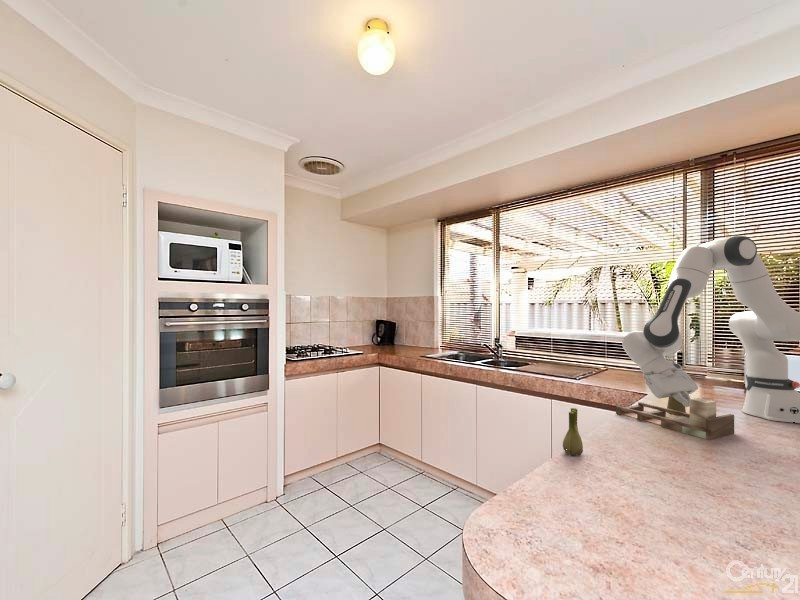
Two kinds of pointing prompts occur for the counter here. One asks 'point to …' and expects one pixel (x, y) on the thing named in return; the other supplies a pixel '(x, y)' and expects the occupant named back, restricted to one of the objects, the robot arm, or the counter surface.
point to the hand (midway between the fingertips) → (690, 405)
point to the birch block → (701, 411)
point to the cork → (675, 405)
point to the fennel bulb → (573, 436)
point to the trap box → (680, 421)
